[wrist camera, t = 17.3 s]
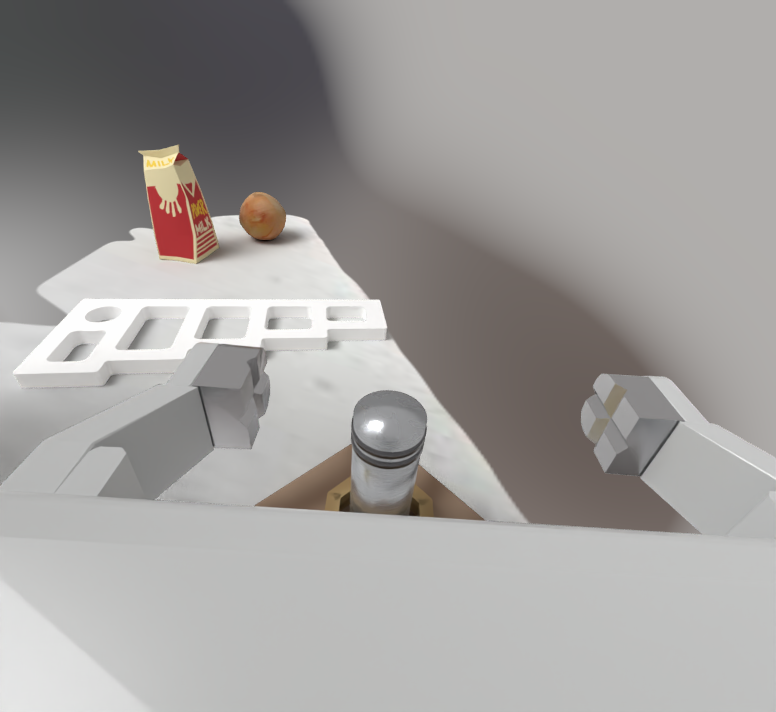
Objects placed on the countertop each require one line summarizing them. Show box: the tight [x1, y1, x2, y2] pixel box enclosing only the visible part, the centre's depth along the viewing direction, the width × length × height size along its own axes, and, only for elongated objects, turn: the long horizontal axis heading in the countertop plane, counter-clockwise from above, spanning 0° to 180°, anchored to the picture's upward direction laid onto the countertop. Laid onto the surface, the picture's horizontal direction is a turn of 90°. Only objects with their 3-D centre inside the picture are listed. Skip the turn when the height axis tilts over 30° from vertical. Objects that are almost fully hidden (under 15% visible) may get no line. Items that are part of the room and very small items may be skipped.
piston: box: [350, 390, 427, 516], centre depth 31 cm, size 5×5×14 cm
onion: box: [239, 192, 286, 240], centre depth 88 cm, size 10×10×10 cm
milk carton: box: [139, 145, 219, 264], centre depth 76 cm, size 9×9×20 cm
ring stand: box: [255, 444, 485, 521], centre depth 35 cm, size 18×16×3 cm
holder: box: [13, 299, 387, 388], centre depth 58 cm, size 45×18×3 cm, turn 98°
